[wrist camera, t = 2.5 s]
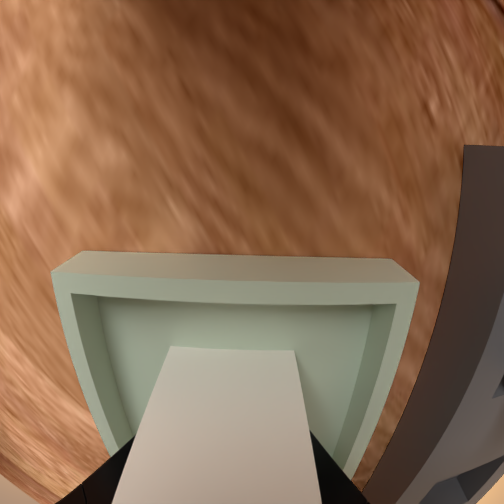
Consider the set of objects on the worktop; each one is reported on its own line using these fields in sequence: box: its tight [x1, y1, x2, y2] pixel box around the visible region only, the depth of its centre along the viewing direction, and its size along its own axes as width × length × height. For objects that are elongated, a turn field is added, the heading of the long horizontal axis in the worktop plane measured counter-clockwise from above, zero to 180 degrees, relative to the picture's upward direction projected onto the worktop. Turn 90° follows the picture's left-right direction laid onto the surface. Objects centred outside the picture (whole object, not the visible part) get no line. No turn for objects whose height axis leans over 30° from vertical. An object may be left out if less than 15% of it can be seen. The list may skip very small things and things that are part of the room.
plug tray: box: [51, 251, 420, 480], centre depth 10 cm, size 10×10×2 cm
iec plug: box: [112, 346, 322, 504], centre depth 7 cm, size 4×4×7 cm
